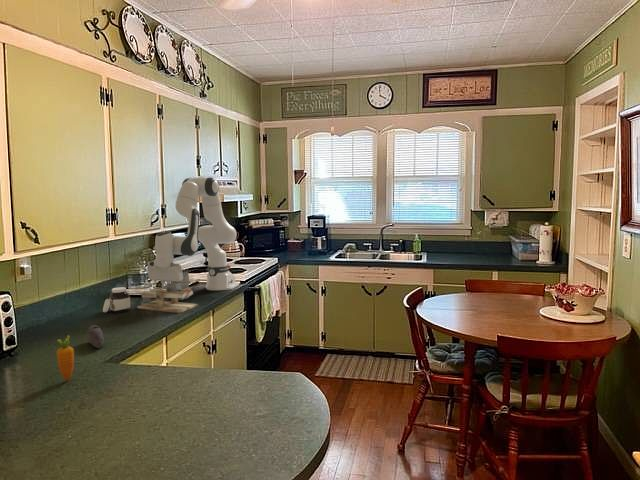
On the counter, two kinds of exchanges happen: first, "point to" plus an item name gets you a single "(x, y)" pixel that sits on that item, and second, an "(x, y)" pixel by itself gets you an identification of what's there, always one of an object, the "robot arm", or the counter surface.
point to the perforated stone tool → (95, 336)
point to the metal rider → (174, 287)
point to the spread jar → (117, 300)
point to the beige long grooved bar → (165, 294)
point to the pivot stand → (167, 304)
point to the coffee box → (184, 282)
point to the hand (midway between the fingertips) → (166, 288)
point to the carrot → (65, 358)
